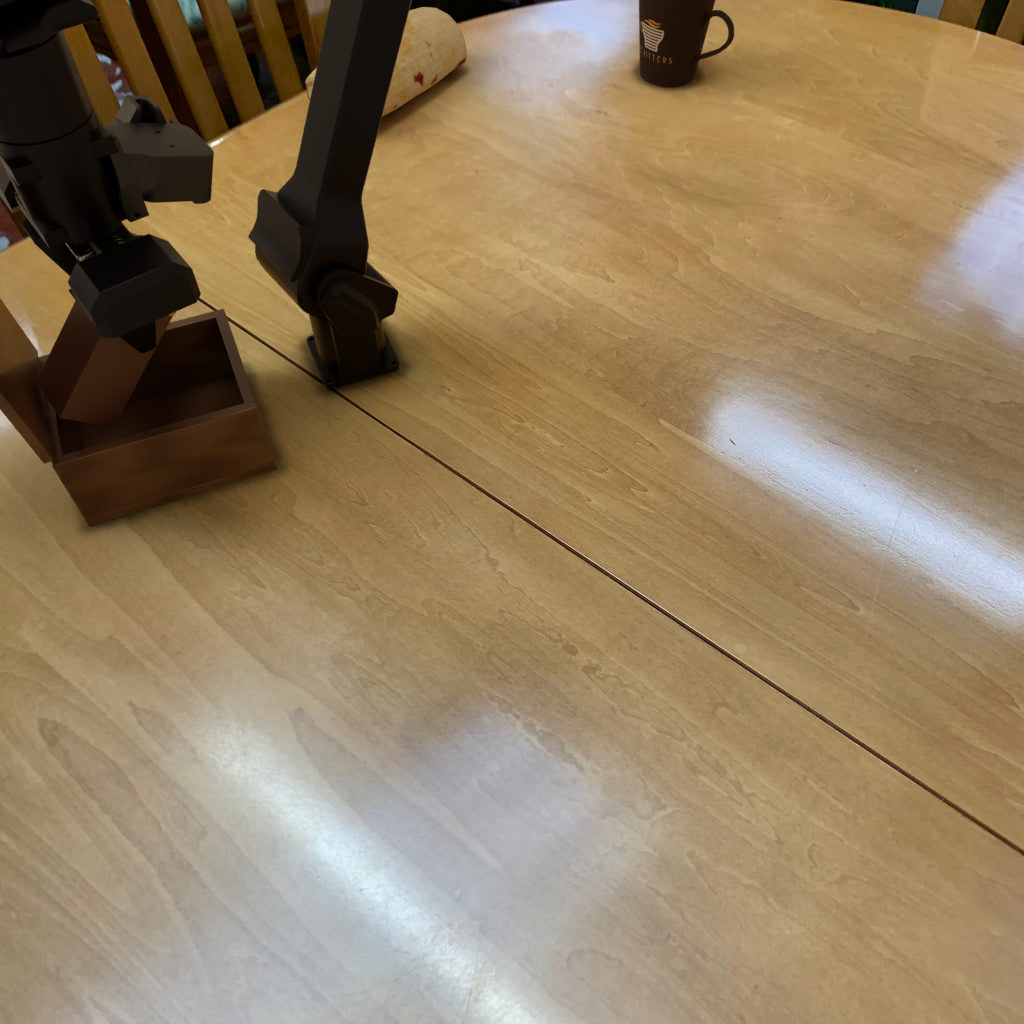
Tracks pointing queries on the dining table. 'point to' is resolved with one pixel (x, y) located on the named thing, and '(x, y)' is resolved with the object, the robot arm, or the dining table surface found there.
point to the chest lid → (22, 386)
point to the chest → (167, 428)
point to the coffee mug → (675, 39)
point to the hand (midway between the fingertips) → (134, 331)
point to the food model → (421, 56)
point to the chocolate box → (92, 371)
